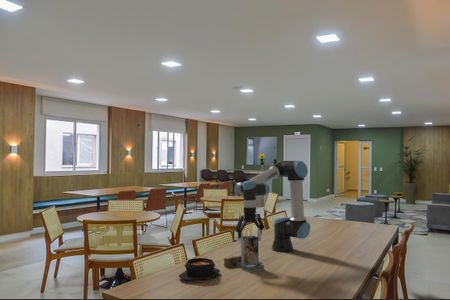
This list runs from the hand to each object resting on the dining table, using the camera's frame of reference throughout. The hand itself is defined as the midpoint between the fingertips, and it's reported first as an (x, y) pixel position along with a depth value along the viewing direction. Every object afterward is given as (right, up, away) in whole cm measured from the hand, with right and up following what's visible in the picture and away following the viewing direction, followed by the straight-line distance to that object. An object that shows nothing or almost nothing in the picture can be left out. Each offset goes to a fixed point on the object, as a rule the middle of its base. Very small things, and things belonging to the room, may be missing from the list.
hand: (250, 242), depth 210 cm
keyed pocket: (0, -15, -1) cm, 15 cm away
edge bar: (-5, -16, +7) cm, 18 cm away
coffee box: (0, -13, -1) cm, 13 cm away
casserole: (-29, -15, -17) cm, 37 cm away
